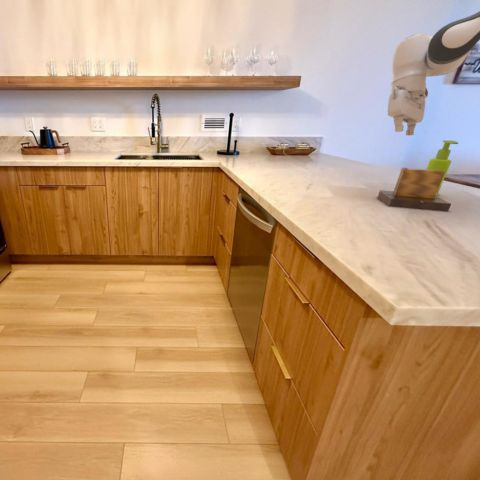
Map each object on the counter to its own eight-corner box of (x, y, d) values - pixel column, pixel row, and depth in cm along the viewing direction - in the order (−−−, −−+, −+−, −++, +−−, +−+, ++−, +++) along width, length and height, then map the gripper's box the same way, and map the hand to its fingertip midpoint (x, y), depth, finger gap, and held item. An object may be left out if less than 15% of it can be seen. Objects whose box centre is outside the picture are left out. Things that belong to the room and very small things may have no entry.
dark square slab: (427, 201, 103) (431, 192, 102) (450, 214, 90) (454, 204, 89) (375, 196, 108) (378, 188, 107) (390, 208, 95) (393, 199, 94)
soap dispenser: (424, 196, 109) (446, 141, 100) (414, 191, 115) (434, 139, 106) (442, 197, 107) (466, 141, 99) (431, 192, 113) (452, 139, 105)
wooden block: (431, 197, 97) (442, 169, 93) (434, 198, 95) (445, 170, 91) (392, 194, 101) (401, 167, 97) (394, 195, 99) (404, 168, 95)
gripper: (407, 79, 87) (404, 126, 88) (429, 93, 98) (427, 135, 99) (382, 87, 92) (380, 131, 93) (406, 99, 103) (404, 139, 104)
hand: (404, 133), depth 96 cm, fingers open, 8 cm apart
